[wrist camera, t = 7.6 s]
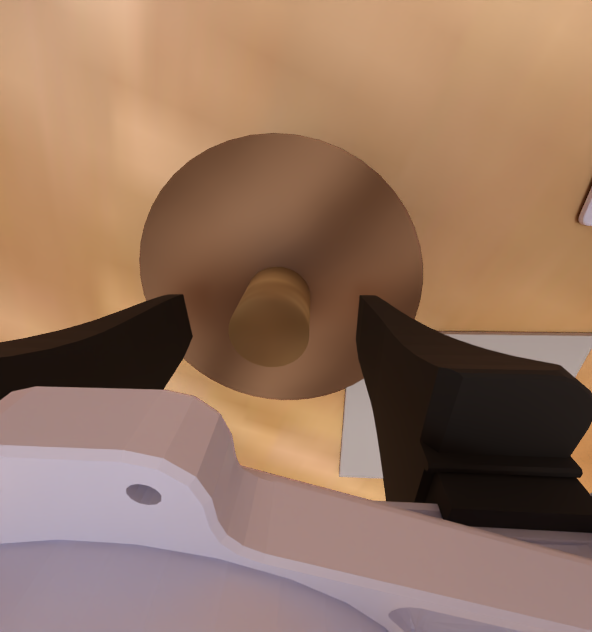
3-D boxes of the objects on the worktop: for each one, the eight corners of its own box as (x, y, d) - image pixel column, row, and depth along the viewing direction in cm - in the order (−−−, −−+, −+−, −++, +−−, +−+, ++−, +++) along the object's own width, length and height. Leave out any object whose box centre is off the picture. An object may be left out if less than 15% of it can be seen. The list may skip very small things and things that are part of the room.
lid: (481, 245, 14) (548, 279, 10) (321, 420, 20) (322, 484, 16) (206, 54, 11) (145, -6, 7) (119, 327, 17) (61, 376, 13)
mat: (593, 333, 20) (598, 336, 20) (512, 480, 28) (515, 484, 28) (350, 330, 21) (350, 333, 21) (339, 472, 29) (339, 476, 29)
